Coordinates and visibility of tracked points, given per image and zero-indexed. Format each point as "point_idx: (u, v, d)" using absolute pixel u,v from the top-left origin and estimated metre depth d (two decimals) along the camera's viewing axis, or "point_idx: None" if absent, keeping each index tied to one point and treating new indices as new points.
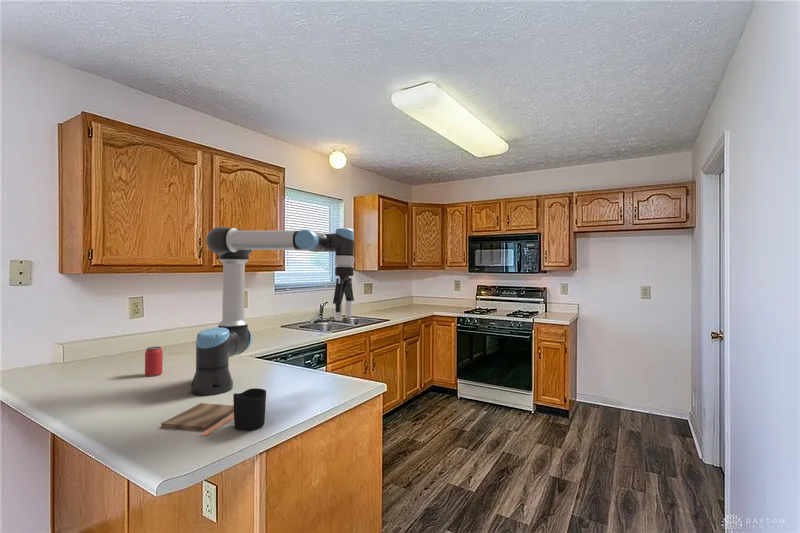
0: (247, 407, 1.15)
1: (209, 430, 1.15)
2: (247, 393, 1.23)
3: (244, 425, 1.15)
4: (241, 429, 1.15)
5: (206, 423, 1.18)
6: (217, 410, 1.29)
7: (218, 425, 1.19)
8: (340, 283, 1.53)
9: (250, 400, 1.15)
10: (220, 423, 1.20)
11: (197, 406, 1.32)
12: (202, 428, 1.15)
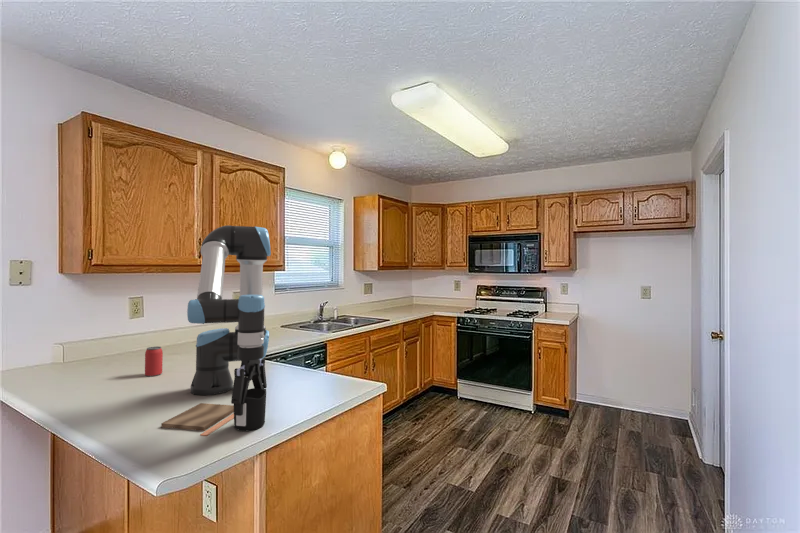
0: (247, 407, 1.15)
1: (209, 430, 1.15)
2: (247, 393, 1.23)
3: None
4: (241, 429, 1.15)
5: (206, 423, 1.18)
6: (217, 410, 1.29)
7: (218, 425, 1.19)
8: (240, 376, 1.13)
9: (250, 400, 1.15)
10: (220, 423, 1.20)
11: (197, 406, 1.32)
12: (202, 428, 1.15)
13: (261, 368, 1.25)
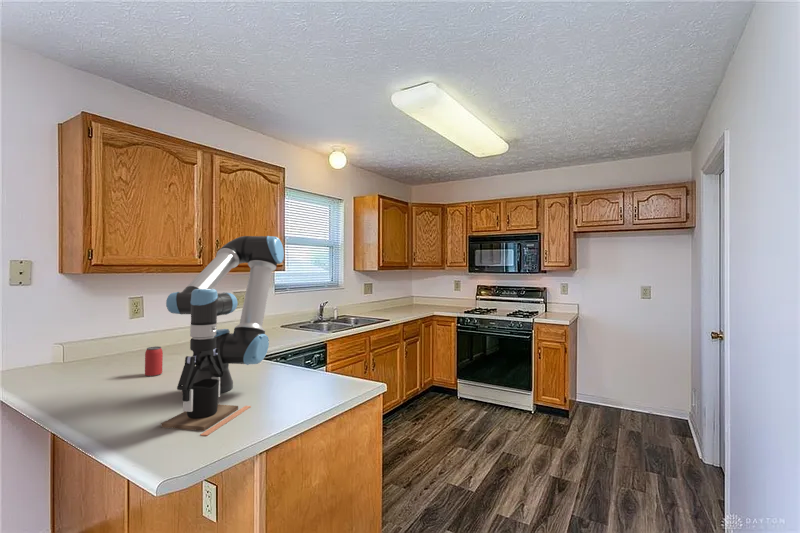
0: (198, 396, 1.21)
1: (209, 430, 1.15)
2: (201, 383, 1.29)
3: (195, 413, 1.21)
4: (193, 416, 1.21)
5: (206, 423, 1.18)
6: (217, 410, 1.29)
7: (218, 425, 1.19)
8: (190, 363, 1.18)
9: (201, 389, 1.21)
10: (220, 423, 1.20)
11: None
12: (202, 428, 1.15)
13: (216, 357, 1.31)
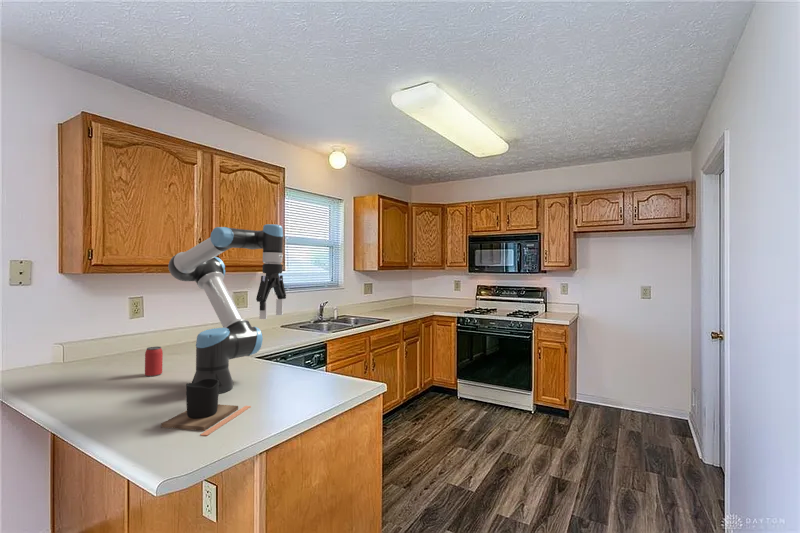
0: (198, 396, 1.21)
1: (209, 430, 1.15)
2: (201, 383, 1.29)
3: (195, 413, 1.21)
4: (193, 416, 1.21)
5: (206, 423, 1.18)
6: (217, 410, 1.29)
7: (218, 425, 1.19)
8: (265, 280, 1.49)
9: (201, 389, 1.21)
10: (220, 423, 1.20)
11: None
12: (202, 428, 1.15)
13: (280, 282, 1.62)
